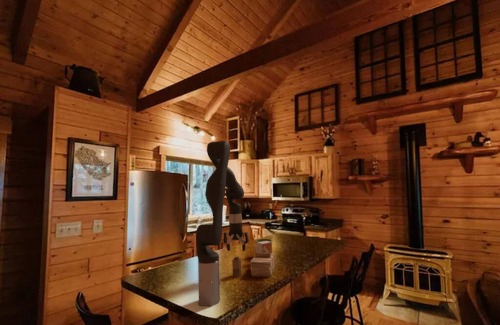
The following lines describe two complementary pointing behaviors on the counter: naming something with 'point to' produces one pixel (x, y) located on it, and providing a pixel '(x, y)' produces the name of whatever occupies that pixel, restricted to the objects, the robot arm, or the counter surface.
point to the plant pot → (263, 240)
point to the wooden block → (236, 267)
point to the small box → (264, 247)
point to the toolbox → (262, 269)
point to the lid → (262, 258)
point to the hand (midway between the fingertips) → (236, 250)
